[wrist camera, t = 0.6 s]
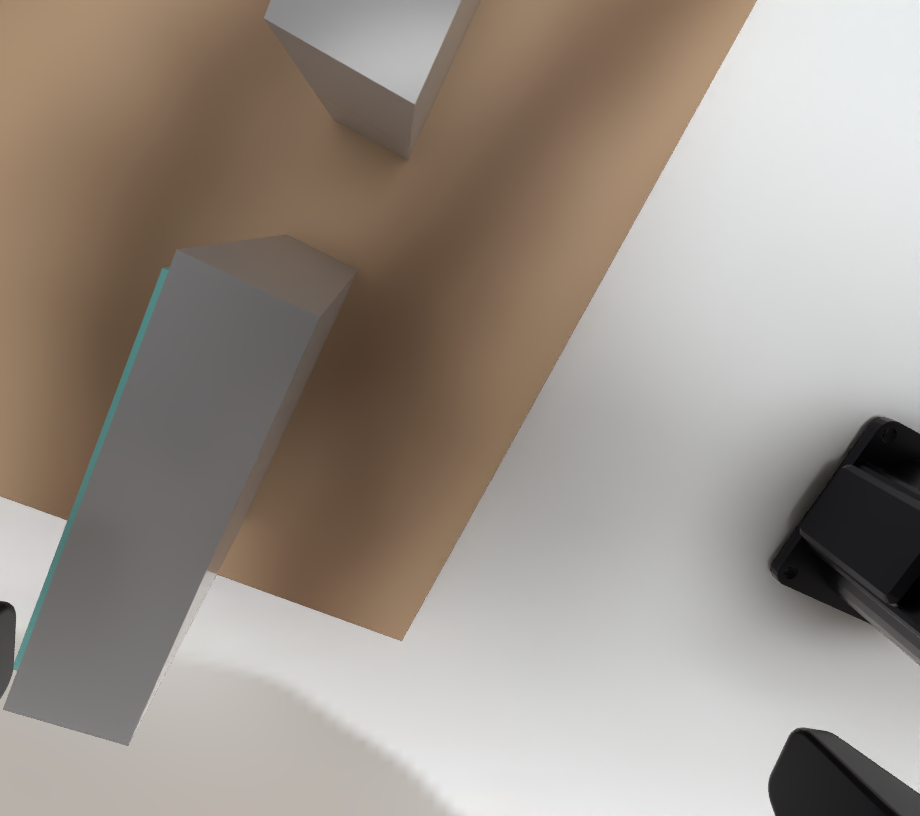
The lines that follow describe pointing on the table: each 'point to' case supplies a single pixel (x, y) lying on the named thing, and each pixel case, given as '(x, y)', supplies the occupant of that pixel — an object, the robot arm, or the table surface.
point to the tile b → (374, 59)
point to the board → (329, 249)
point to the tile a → (174, 475)
